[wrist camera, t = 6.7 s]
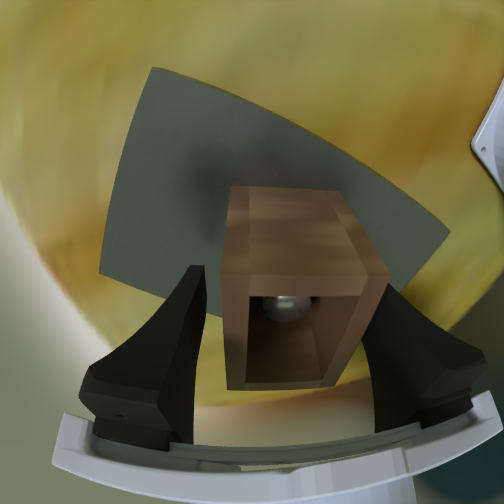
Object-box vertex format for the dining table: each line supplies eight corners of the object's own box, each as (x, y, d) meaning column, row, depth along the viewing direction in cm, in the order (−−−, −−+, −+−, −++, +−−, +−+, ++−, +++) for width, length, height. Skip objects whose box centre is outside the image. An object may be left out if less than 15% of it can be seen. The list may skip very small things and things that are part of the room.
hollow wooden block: (338, 191, 12) (390, 275, 8) (314, 298, 17) (333, 386, 12) (230, 186, 12) (220, 274, 7) (231, 298, 16) (227, 390, 12)
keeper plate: (441, 221, 15) (484, 271, 11) (337, 337, 21) (350, 391, 17) (160, 67, 10) (112, 67, 6) (105, 261, 16) (74, 319, 12)
